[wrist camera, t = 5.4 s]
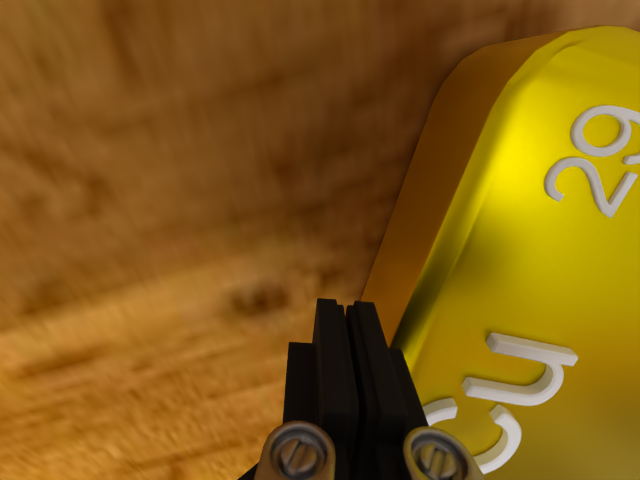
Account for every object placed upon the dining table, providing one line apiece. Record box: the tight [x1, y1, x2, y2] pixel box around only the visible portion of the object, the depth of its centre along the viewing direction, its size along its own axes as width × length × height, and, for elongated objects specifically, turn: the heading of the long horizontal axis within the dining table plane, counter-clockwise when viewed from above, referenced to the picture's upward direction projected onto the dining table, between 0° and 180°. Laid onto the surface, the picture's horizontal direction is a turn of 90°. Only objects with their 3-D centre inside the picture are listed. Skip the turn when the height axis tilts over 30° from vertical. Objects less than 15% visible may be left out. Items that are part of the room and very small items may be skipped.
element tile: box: [360, 25, 640, 480], centre depth 12 cm, size 15×15×5 cm
